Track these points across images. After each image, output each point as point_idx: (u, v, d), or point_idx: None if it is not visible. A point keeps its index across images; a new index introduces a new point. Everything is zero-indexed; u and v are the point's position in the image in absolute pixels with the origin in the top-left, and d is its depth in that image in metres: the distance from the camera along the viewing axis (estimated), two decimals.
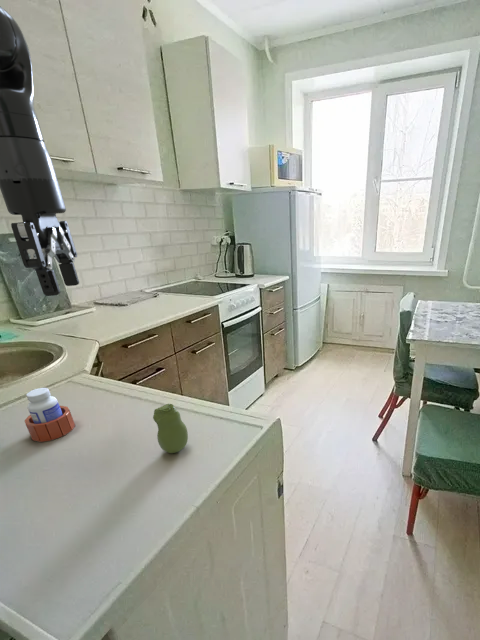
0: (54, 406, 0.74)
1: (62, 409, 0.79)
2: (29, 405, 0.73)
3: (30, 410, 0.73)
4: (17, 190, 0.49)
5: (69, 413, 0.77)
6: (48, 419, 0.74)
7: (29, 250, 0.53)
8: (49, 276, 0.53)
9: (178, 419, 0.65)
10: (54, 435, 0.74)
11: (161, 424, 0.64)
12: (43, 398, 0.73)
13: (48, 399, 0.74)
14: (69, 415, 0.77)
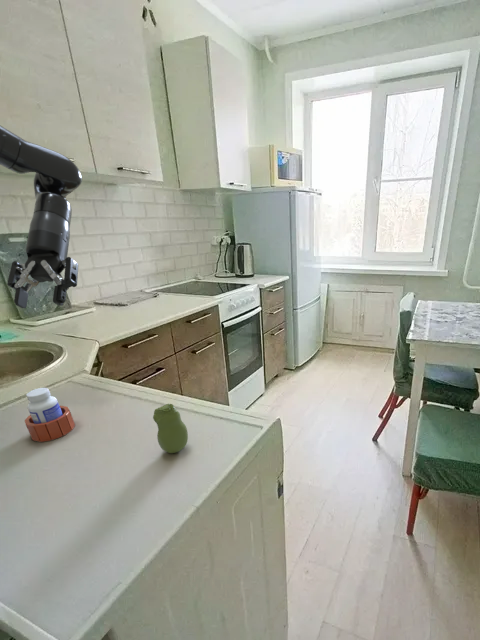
0: (54, 406, 0.74)
1: (62, 409, 0.79)
2: (29, 405, 0.73)
3: (30, 410, 0.73)
4: (63, 243, 0.78)
5: (69, 413, 0.77)
6: (48, 419, 0.74)
7: (55, 272, 0.75)
8: None
9: (178, 419, 0.65)
10: (54, 435, 0.74)
11: (161, 424, 0.64)
12: (43, 398, 0.73)
13: (48, 399, 0.74)
14: (69, 415, 0.77)
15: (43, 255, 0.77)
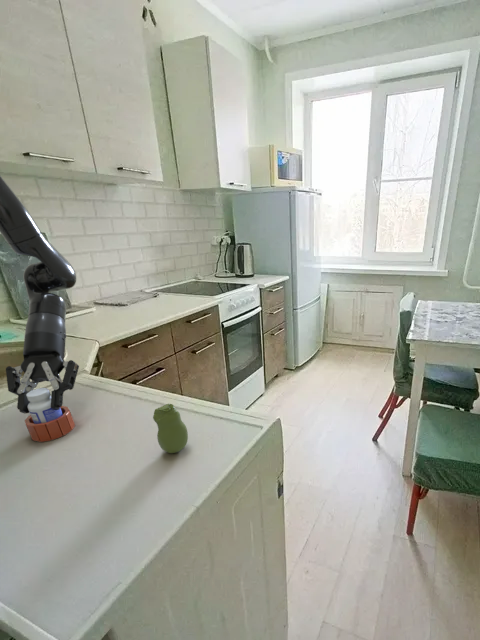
0: None
1: (62, 409, 0.79)
2: (29, 405, 0.73)
3: (30, 410, 0.73)
4: (62, 342, 0.78)
5: (69, 413, 0.77)
6: (48, 419, 0.74)
7: (54, 376, 0.75)
8: None
9: (178, 419, 0.65)
10: (54, 435, 0.74)
11: (161, 424, 0.64)
12: (43, 398, 0.73)
13: (48, 399, 0.74)
14: (69, 415, 0.77)
15: (42, 356, 0.76)
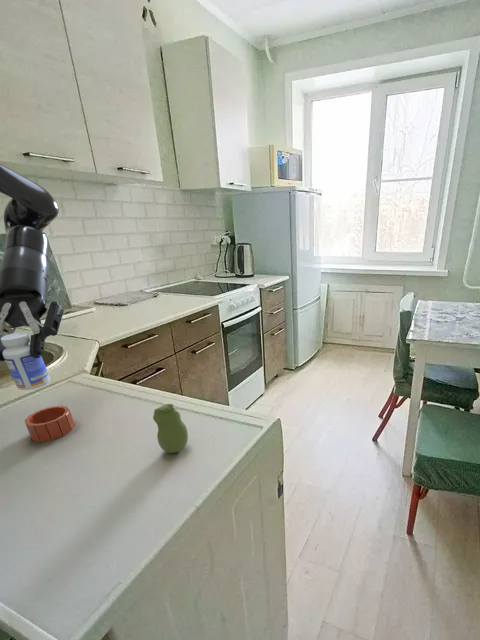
0: None
1: (62, 409, 0.79)
2: (4, 351, 0.62)
3: (5, 356, 0.62)
4: (44, 282, 0.68)
5: (69, 413, 0.77)
6: (27, 369, 0.63)
7: (34, 319, 0.64)
8: None
9: (178, 419, 0.65)
10: (54, 435, 0.74)
11: (161, 424, 0.64)
12: (20, 342, 0.62)
13: (27, 345, 0.63)
14: (69, 415, 0.77)
15: (20, 296, 0.65)
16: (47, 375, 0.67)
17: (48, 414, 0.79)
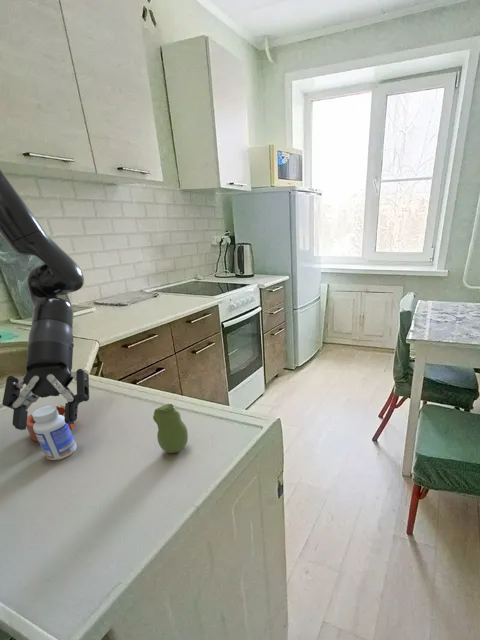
0: (62, 426, 0.67)
1: (62, 409, 0.79)
2: (35, 426, 0.65)
3: (36, 431, 0.65)
4: (69, 353, 0.70)
5: None
6: (56, 441, 0.66)
7: (65, 388, 0.67)
8: None
9: (178, 419, 0.65)
10: None
11: (161, 424, 0.64)
12: (50, 418, 0.65)
13: (56, 419, 0.66)
14: None
15: (47, 368, 0.68)
16: (74, 444, 0.70)
17: None
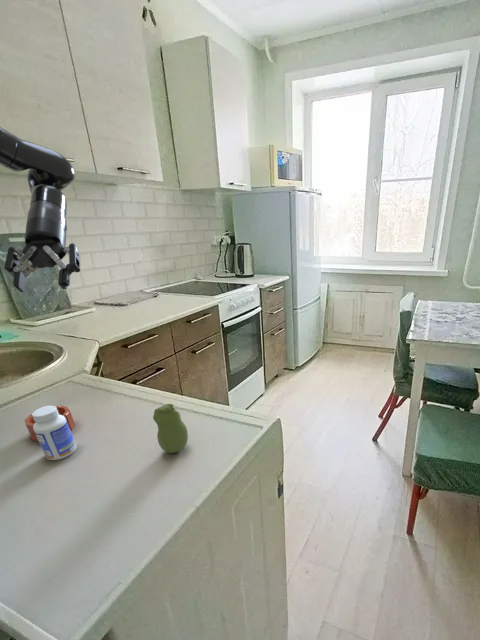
0: (62, 426, 0.67)
1: (62, 409, 0.79)
2: (35, 426, 0.65)
3: (36, 431, 0.65)
4: (63, 232, 0.80)
5: (69, 413, 0.77)
6: (56, 441, 0.66)
7: (59, 257, 0.77)
8: None
9: (178, 419, 0.65)
10: None
11: (161, 424, 0.64)
12: (50, 418, 0.65)
13: (56, 419, 0.66)
14: (69, 415, 0.77)
15: (43, 241, 0.78)
16: (74, 444, 0.70)
17: None
